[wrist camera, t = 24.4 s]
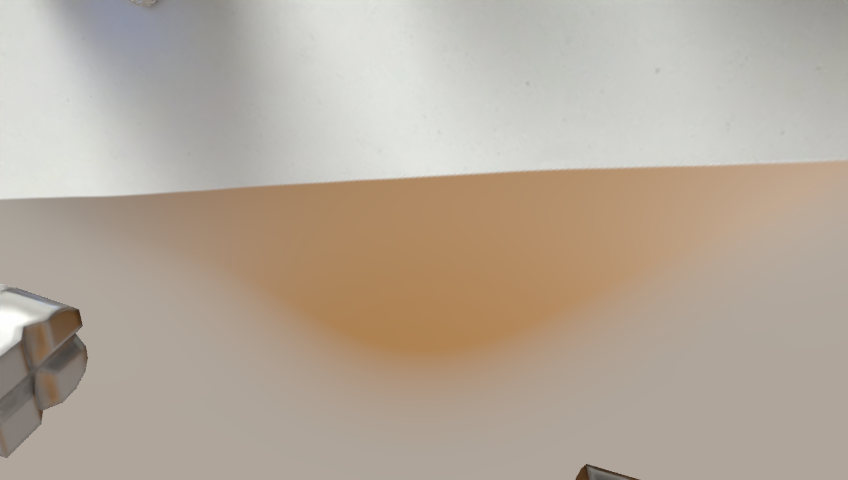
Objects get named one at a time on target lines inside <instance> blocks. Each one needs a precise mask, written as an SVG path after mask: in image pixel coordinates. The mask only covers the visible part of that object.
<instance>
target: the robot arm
mask: <svg viewBox="0 0 848 480" xmlns="http://www.w3.org/2000/svg"><path fill="white" fill-rule="evenodd" d="M129 1H131V2H133V3H135V4H138V5H145V6H150V5H153V4H154V3H155V2H156V1H157V0H129ZM82 326H83V325H82V321H81V316H80V312H79V310H78V309H75V308H73V307H71V306H68V305H65V304H63V303H60V302H57V301H54V300H51V299H48V298H45V297H42V296H39V295H36V294H33V293H30V292H27V291H24V290H21V289H18V288H14V287H11V286H8V285H5V284H2V283H0V456H2V457H5V458H7V457H8V456H9V455H10V454H11V453H12V452H13V451H14V450H15V449H16V448H17V447H18V446H19V445H21V443H23V442H24V440H26V438H28V437H29V435H31V434H32V432H34V431H35V430H36V429H37V428H38V426H40V425H41V421H42V413H43V410H45V409H47V408H50V407H52V406H55V405H58V404H60V403H62V402H63V401H65V400H66V398H67V397H68V396H69V395H70V394H71V393H72V392H73V391H74V390H75V389H76V388H77V385H78V384H79V382H80V380H81V378H82V376H83V375H84V373H85V370H86V364H87V359H88V357H87V350H86V346H85V345H84V344H83V342H82V341H81V340H80V338H79V337H78V336H77V334H76V332H77V331H78V330H79V329H80V328H81V327H82ZM576 480H639V479H635V478H632V477H628V476H625V475H622V474H618V473H615V472H612V471H608V470H605V469H601V468H598V467H594V466H591V465H588V464H586V465H585V466H584V467H583V468H581V470H580V472H579V474H578V476H577V478H576Z"/></svg>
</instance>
